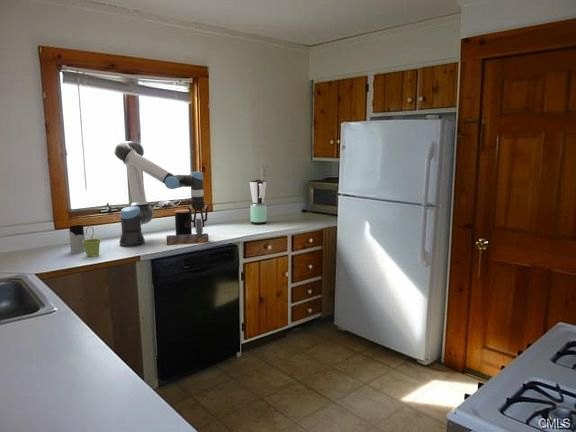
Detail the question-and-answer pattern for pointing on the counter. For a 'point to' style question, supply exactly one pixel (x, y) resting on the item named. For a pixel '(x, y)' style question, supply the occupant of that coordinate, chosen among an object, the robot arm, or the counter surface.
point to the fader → (199, 226)
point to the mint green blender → (258, 202)
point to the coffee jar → (183, 222)
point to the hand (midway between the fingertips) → (199, 232)
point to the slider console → (187, 239)
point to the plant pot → (92, 247)
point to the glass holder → (77, 238)
